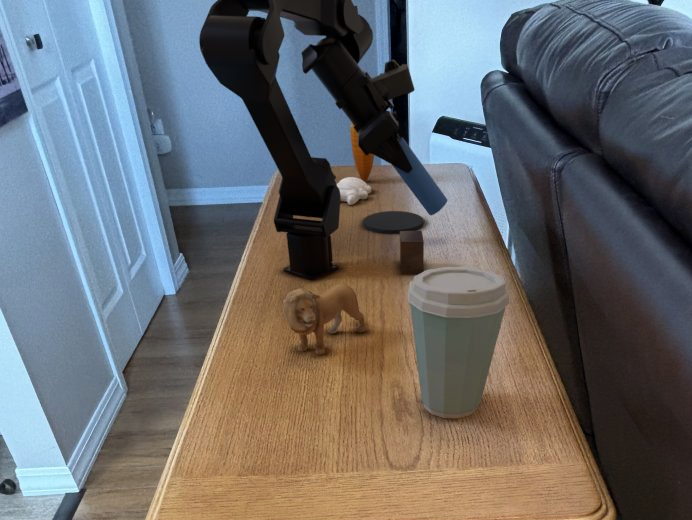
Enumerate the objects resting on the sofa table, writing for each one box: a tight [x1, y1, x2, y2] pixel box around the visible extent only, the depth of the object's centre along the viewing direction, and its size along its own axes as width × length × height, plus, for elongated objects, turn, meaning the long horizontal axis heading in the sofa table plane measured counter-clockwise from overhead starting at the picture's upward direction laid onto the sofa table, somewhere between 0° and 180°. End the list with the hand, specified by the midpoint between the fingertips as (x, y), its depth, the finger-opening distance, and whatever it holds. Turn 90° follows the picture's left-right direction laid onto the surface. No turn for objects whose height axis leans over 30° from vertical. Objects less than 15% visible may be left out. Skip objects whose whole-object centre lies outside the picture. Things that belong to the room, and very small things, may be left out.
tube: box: [391, 137, 448, 216], centre depth 120 cm, size 11×4×11 cm, turn 93°
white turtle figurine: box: [336, 176, 372, 206], centre depth 147 cm, size 9×12×3 cm
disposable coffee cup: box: [407, 266, 510, 419], centre depth 79 cm, size 11×11×15 cm
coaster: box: [362, 210, 425, 234], centre depth 134 cm, size 11×11×1 cm
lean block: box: [399, 230, 425, 275], centre depth 116 cm, size 4×5×5 cm
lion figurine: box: [282, 284, 366, 356], centre depth 94 cm, size 15×5×9 cm, turn 150°
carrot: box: [349, 123, 375, 183], centre depth 151 cm, size 5×5×15 cm
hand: (409, 167), depth 119 cm, fingers closed on tube, 4 cm apart
